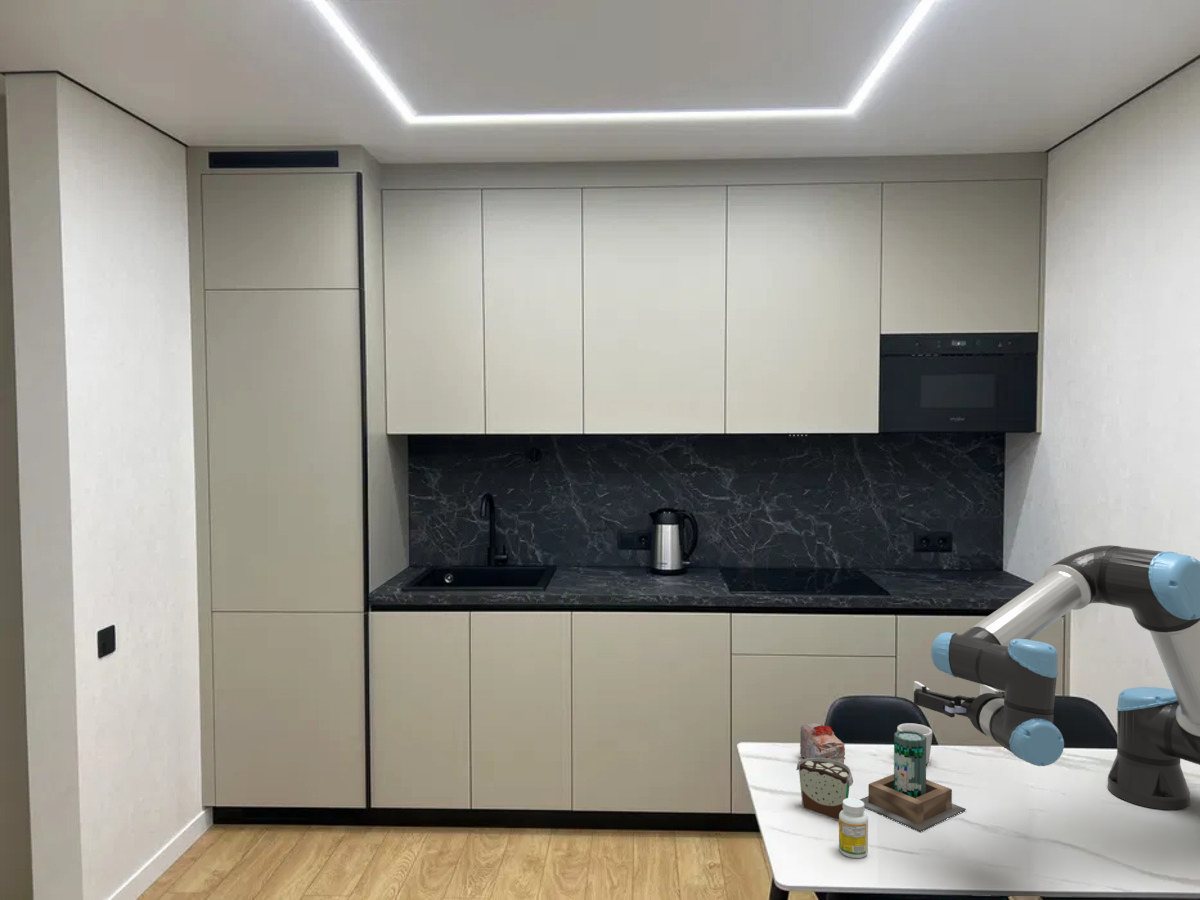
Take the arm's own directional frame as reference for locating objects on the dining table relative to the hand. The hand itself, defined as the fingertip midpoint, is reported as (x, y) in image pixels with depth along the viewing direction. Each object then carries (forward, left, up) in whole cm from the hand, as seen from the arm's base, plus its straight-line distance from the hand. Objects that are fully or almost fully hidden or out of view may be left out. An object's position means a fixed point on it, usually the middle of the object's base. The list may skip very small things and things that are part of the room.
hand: (948, 688), depth 174 cm
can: (+8, +1, -27) cm, 28 cm away
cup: (+21, -20, -28) cm, 40 cm away
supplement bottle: (+3, +26, -28) cm, 38 cm away
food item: (+34, -1, -28) cm, 44 cm away
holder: (+8, +1, -27) cm, 29 cm away
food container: (+17, +16, -28) cm, 36 cm away
